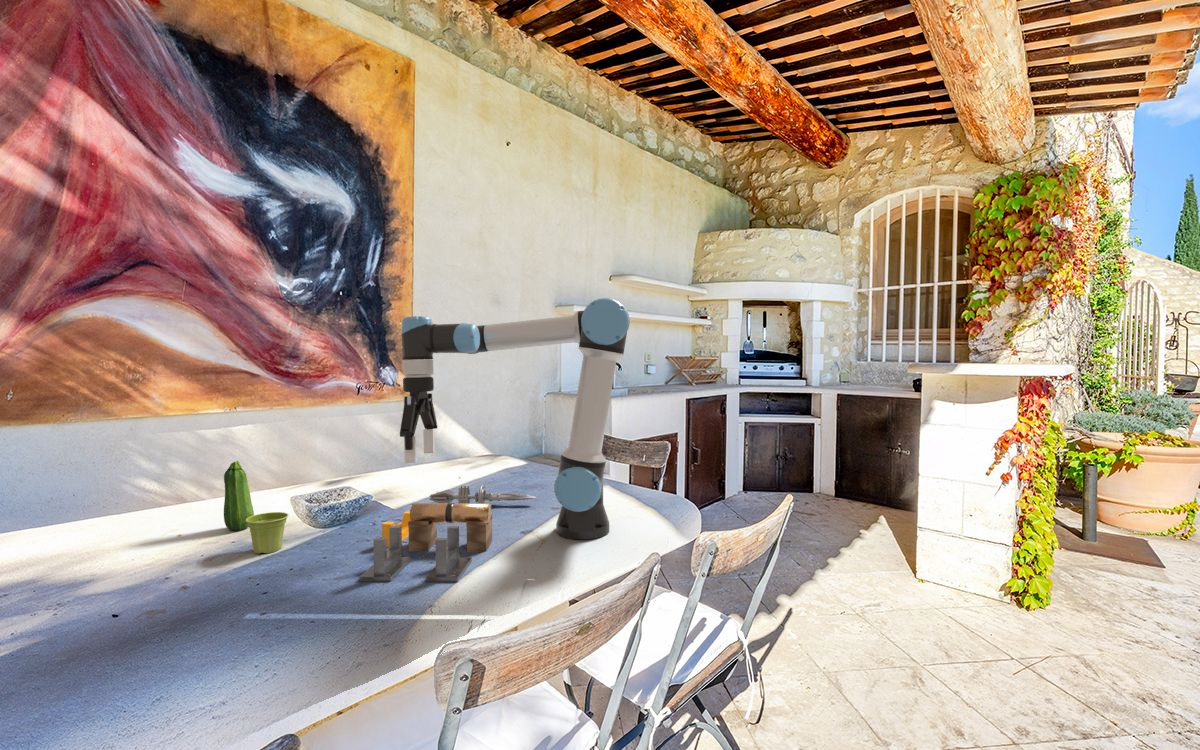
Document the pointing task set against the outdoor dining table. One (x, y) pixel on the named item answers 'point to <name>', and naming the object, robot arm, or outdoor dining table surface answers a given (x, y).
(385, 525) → the pipe clamp
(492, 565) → the outdoor dining table surface
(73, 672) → the outdoor dining table surface
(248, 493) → the vegetable
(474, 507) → the tube
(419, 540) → the walnut rest
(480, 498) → the spaceship
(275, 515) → the plant pot
